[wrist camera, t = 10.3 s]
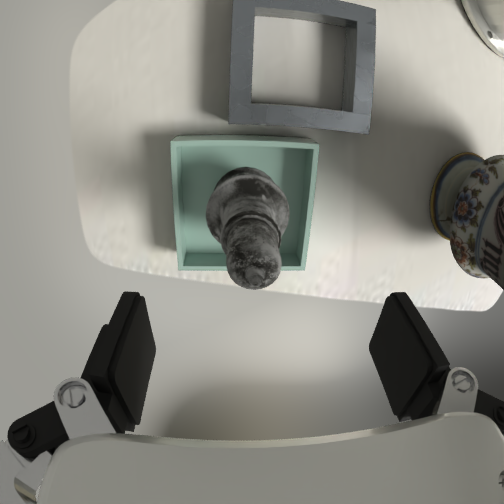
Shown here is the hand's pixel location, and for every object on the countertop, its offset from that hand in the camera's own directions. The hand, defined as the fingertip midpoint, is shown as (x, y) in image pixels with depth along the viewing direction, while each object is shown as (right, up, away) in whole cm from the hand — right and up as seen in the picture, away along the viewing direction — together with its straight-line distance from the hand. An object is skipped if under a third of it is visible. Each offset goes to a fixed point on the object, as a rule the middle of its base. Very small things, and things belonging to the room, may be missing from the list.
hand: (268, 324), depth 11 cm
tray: (-1, +7, +14) cm, 16 cm away
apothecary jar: (+22, +9, +15) cm, 28 cm away
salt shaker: (-1, +7, +13) cm, 15 cm away
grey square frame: (+3, +17, +9) cm, 20 cm away
